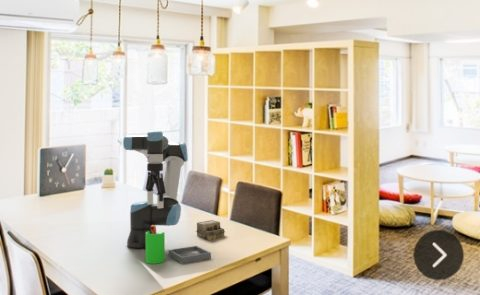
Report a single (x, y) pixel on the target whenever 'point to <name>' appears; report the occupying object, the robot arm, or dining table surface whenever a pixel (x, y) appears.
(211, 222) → the miniature house
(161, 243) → the green-shelled ribbed roller
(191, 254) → the tray
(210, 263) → the dining table surface
